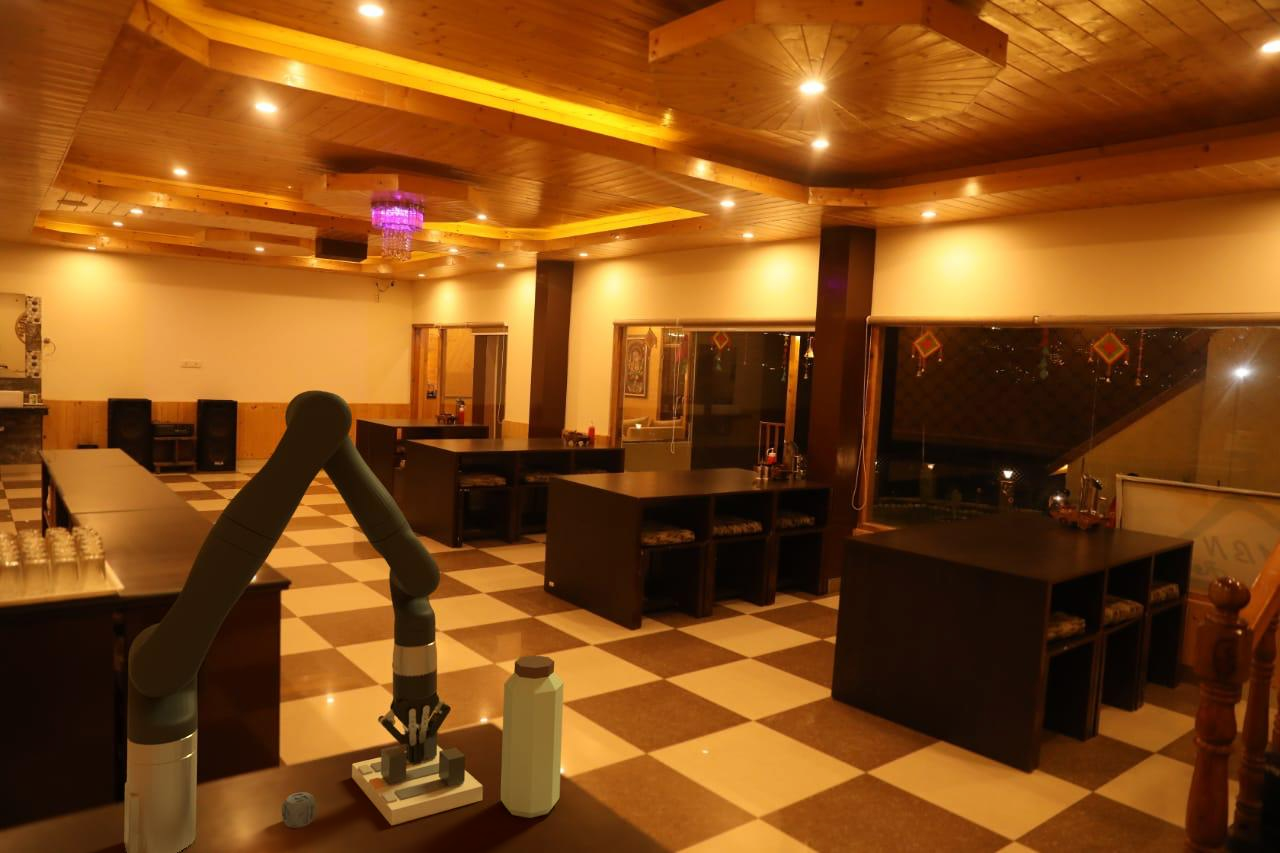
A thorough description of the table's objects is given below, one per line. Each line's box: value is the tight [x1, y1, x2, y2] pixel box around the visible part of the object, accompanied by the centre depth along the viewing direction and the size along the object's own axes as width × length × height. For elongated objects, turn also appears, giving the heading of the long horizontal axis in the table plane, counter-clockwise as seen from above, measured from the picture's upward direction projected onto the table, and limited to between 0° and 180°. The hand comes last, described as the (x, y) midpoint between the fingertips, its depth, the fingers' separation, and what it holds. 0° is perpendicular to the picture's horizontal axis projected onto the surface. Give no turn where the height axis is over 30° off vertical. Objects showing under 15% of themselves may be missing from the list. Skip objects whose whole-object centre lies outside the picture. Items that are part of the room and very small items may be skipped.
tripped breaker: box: [380, 745, 407, 783], centre depth 147 cm, size 3×4×4 cm
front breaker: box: [439, 747, 466, 786], centre depth 147 cm, size 3×4×4 cm
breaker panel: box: [351, 744, 484, 826], centre depth 149 cm, size 16×20×3 cm
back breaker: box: [424, 731, 438, 759], centre depth 156 cm, size 3×4×4 cm
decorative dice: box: [280, 791, 318, 829], centre depth 137 cm, size 4×4×4 cm
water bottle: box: [500, 654, 564, 819], centre depth 144 cm, size 10×10×25 cm
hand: (415, 762), depth 149 cm, fingers closed
